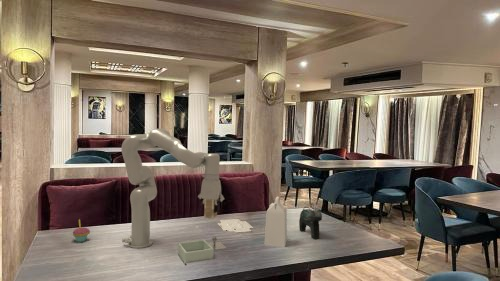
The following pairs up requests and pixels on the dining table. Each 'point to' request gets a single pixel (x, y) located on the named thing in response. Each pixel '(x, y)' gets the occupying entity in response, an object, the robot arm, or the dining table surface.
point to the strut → (209, 209)
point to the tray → (235, 225)
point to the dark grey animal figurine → (310, 221)
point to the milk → (276, 225)
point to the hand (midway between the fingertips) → (210, 211)
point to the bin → (195, 255)
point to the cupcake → (80, 233)
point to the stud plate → (216, 244)
